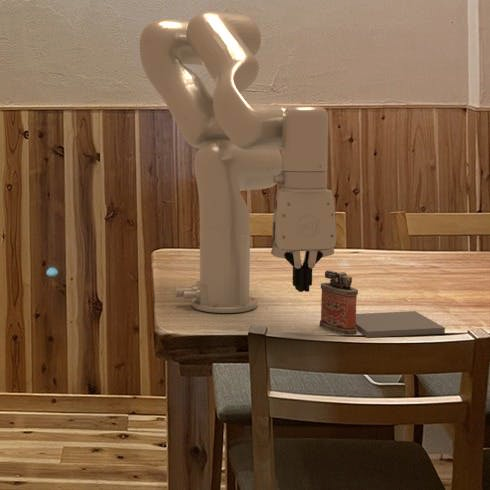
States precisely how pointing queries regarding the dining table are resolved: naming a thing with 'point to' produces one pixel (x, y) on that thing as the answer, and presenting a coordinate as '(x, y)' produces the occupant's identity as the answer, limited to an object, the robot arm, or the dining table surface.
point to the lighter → (338, 304)
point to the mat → (396, 324)
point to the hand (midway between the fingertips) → (302, 290)
